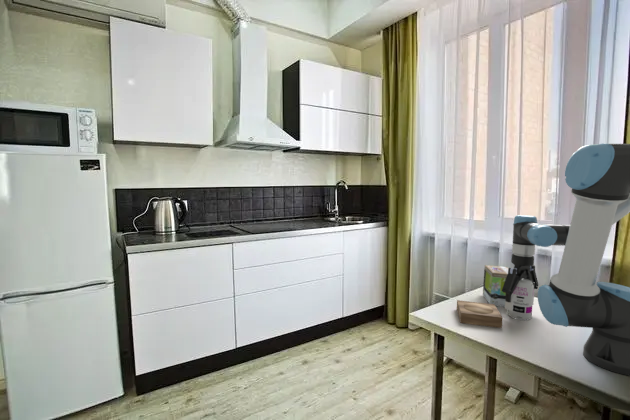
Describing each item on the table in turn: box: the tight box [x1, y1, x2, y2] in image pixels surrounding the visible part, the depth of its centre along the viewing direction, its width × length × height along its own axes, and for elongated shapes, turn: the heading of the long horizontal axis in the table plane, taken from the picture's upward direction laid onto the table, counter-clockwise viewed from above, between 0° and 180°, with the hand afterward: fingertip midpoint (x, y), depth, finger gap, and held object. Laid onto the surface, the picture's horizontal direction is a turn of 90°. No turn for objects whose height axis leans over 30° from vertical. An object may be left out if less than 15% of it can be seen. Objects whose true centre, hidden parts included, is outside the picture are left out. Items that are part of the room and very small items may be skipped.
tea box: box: [482, 264, 510, 308], centre depth 147 cm, size 15×10×15 cm
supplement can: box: [506, 278, 535, 321], centre depth 130 cm, size 8×8×15 cm
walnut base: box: [456, 299, 504, 329], centre depth 129 cm, size 14×14×4 cm
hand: (519, 306), depth 131 cm, fingers open, 13 cm apart
